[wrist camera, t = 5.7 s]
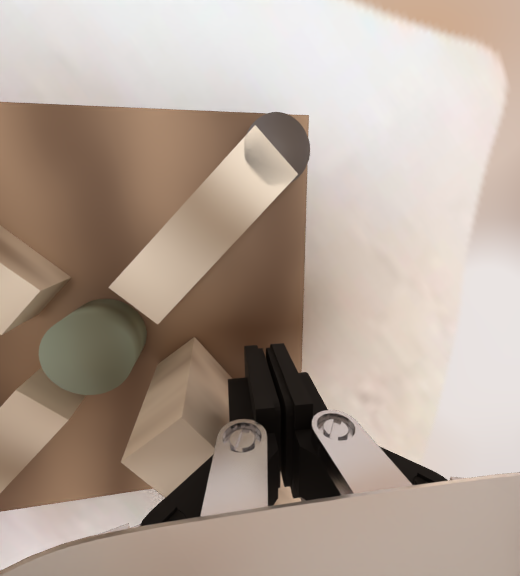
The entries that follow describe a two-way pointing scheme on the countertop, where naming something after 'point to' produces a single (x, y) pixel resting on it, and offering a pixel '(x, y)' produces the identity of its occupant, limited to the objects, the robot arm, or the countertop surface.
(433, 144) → the countertop surface
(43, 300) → the stool seat
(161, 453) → the hinged leg
